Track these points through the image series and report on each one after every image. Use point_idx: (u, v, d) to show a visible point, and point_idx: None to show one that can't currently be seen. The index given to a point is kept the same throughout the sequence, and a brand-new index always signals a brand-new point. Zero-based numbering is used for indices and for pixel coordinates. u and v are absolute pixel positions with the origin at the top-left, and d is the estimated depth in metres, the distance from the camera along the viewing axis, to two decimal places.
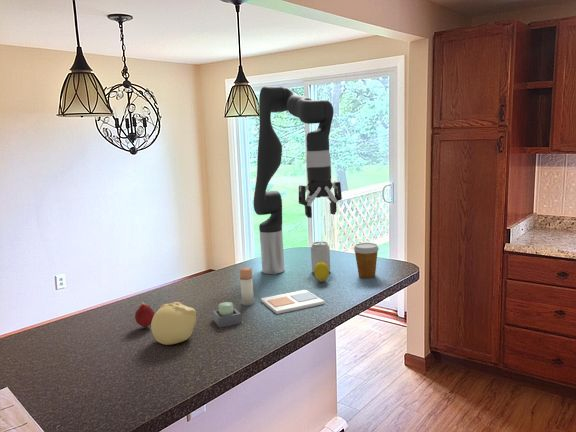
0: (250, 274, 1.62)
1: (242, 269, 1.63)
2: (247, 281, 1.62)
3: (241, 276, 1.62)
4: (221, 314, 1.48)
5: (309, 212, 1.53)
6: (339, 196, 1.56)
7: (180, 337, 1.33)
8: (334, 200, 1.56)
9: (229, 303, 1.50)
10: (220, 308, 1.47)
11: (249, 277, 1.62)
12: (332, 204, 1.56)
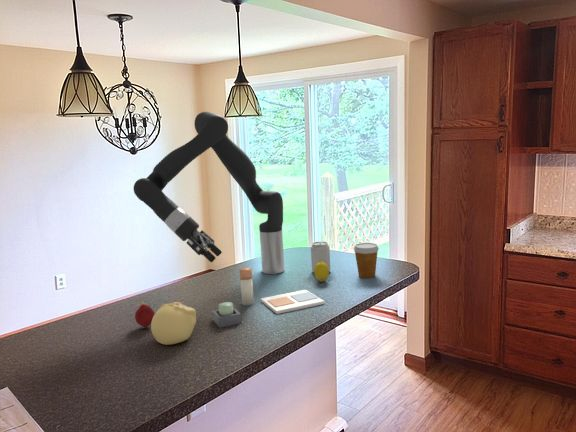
0: (250, 274, 1.62)
1: (242, 269, 1.63)
2: (247, 281, 1.62)
3: (241, 276, 1.62)
4: (221, 314, 1.48)
5: None
6: None
7: (180, 337, 1.33)
8: None
9: (229, 303, 1.50)
10: (220, 308, 1.47)
11: (249, 277, 1.62)
12: None
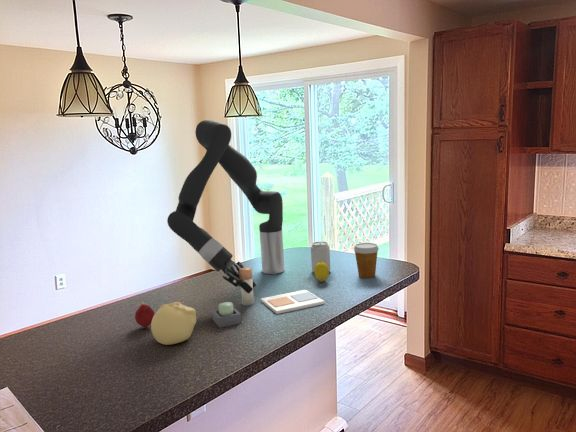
0: (250, 274, 1.62)
1: (242, 269, 1.63)
2: (247, 281, 1.62)
3: (241, 276, 1.62)
4: (221, 314, 1.48)
5: None
6: None
7: (180, 337, 1.33)
8: None
9: (229, 303, 1.50)
10: (220, 308, 1.47)
11: (249, 277, 1.62)
12: None
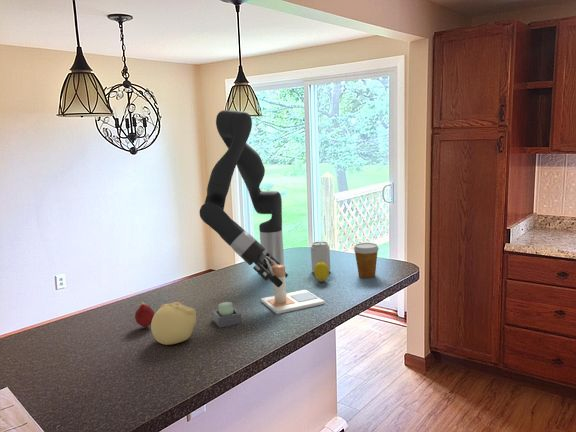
0: (283, 271, 1.58)
1: (275, 266, 1.59)
2: (280, 279, 1.58)
3: (274, 273, 1.58)
4: (221, 314, 1.48)
5: None
6: None
7: (180, 337, 1.33)
8: None
9: (229, 303, 1.50)
10: (220, 308, 1.47)
11: (282, 274, 1.58)
12: None
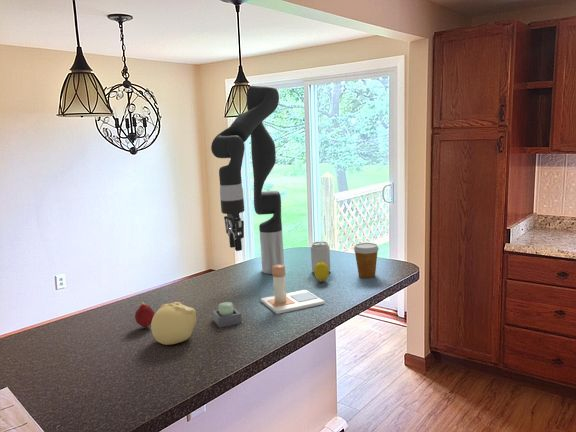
0: (283, 271, 1.58)
1: (275, 266, 1.59)
2: (280, 279, 1.58)
3: (274, 273, 1.58)
4: (221, 314, 1.48)
5: None
6: (235, 235, 1.55)
7: (180, 337, 1.33)
8: (234, 237, 1.57)
9: (229, 303, 1.50)
10: (220, 308, 1.47)
11: (282, 274, 1.58)
12: None
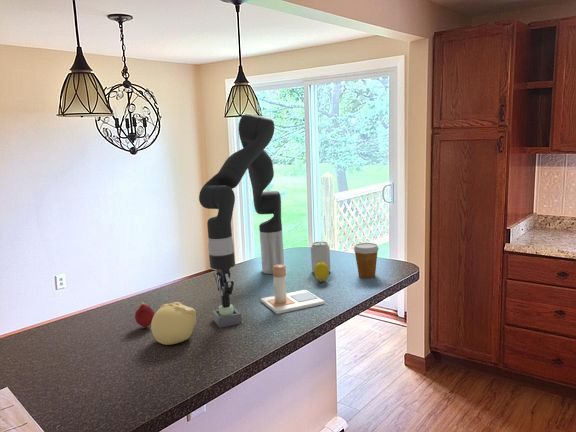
0: (284, 271, 1.58)
1: (276, 266, 1.59)
2: (281, 279, 1.58)
3: (275, 273, 1.58)
4: (221, 316, 1.48)
5: None
6: (223, 291, 1.45)
7: (180, 337, 1.33)
8: (221, 293, 1.47)
9: None
10: (220, 310, 1.47)
11: (283, 274, 1.58)
12: None
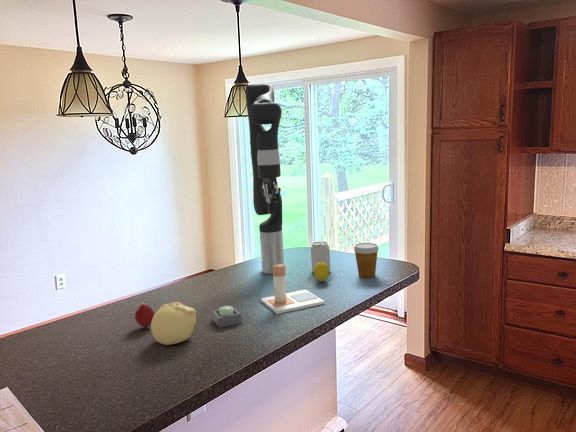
0: (284, 271, 1.59)
1: (276, 266, 1.60)
2: (281, 278, 1.59)
3: (275, 273, 1.58)
4: None
5: None
6: (270, 198, 1.64)
7: (180, 337, 1.33)
8: (268, 200, 1.66)
9: (229, 307, 1.50)
10: (220, 312, 1.48)
11: (283, 274, 1.59)
12: None
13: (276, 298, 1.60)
